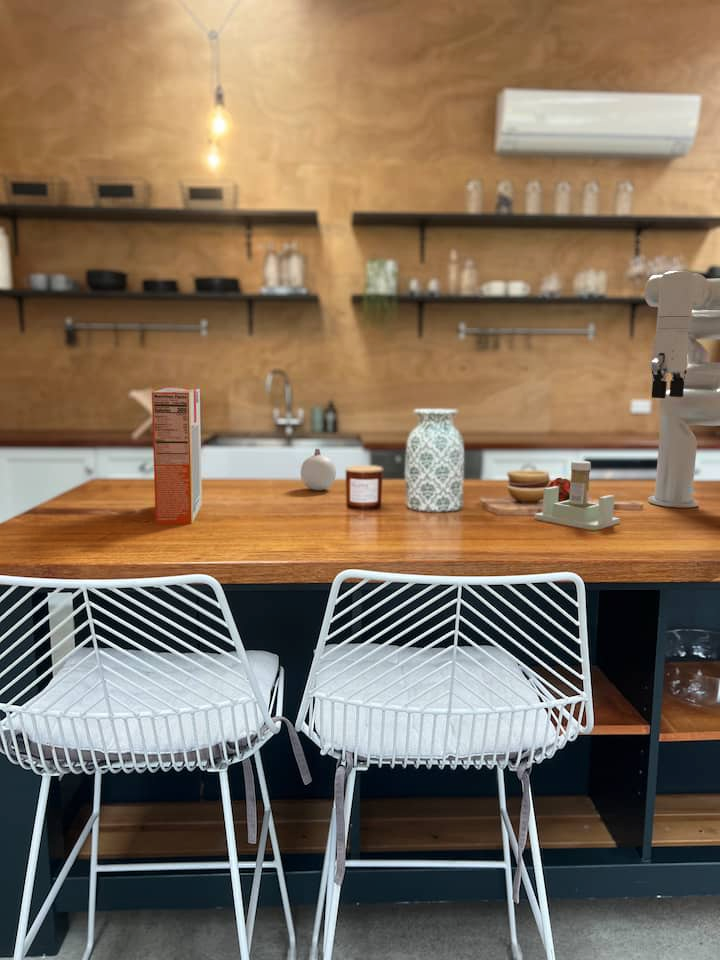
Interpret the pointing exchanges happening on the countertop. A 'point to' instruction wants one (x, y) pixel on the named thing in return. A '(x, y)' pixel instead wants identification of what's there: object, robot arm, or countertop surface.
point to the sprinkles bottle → (579, 483)
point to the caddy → (577, 512)
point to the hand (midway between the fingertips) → (667, 397)
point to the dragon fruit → (562, 488)
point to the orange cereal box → (177, 454)
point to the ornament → (318, 472)
